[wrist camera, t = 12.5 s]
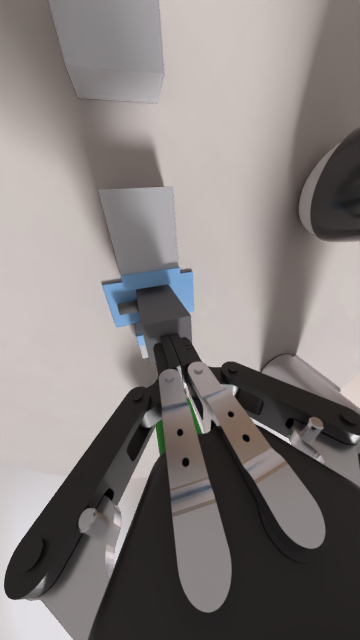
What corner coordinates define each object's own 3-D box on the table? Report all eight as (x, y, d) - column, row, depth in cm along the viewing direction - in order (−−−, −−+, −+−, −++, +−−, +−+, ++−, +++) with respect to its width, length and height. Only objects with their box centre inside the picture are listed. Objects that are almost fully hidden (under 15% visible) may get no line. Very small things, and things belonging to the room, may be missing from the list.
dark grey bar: (167, 282, 21) (190, 315, 13) (170, 310, 23) (192, 352, 15) (114, 291, 19) (107, 333, 12) (123, 320, 21) (121, 370, 14)
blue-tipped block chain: (183, 17, 12) (202, -54, 9) (194, 333, 26) (202, 346, 23) (3, -15, 9) (-53, -124, 6) (124, 349, 24) (123, 366, 21)
